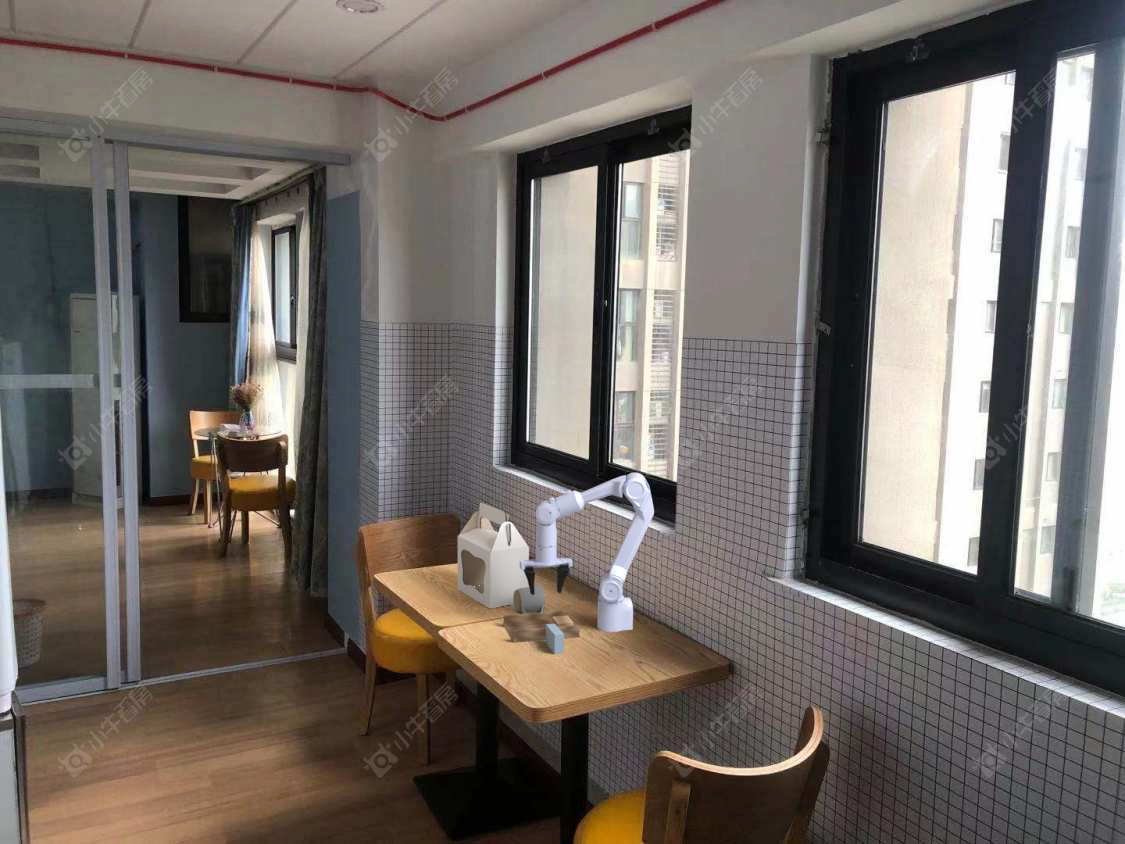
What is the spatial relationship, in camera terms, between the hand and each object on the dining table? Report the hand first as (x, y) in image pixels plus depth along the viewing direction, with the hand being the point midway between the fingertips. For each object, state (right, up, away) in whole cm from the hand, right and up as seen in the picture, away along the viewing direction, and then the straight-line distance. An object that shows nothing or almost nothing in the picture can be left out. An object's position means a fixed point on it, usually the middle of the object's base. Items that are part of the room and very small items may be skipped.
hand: (545, 592), depth 252 cm
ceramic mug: (-4, -9, +13) cm, 16 cm away
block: (+3, -12, -16) cm, 21 cm away
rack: (-1, -11, -4) cm, 11 cm away
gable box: (-17, -7, +29) cm, 34 cm away
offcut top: (+5, -8, -3) cm, 10 cm away
